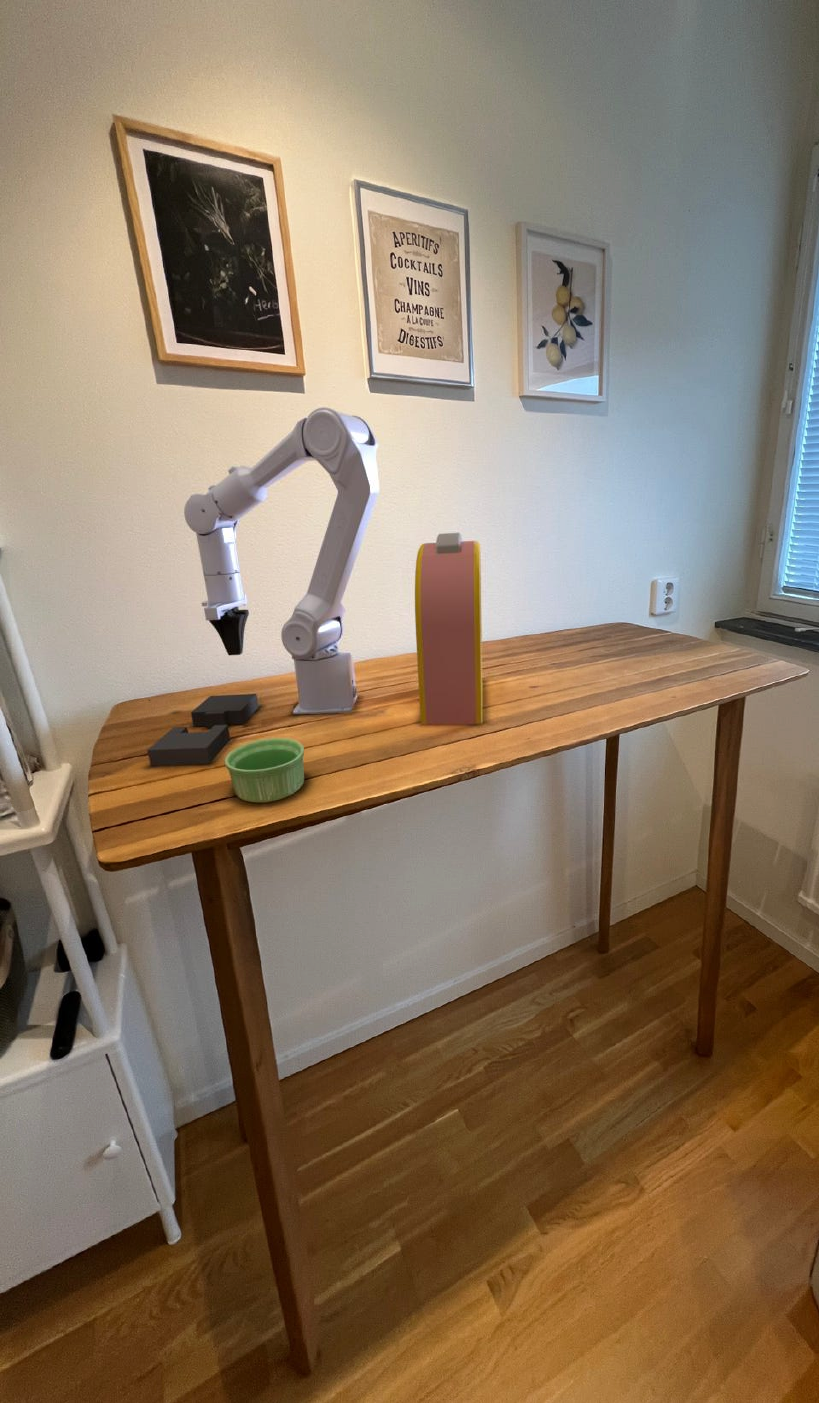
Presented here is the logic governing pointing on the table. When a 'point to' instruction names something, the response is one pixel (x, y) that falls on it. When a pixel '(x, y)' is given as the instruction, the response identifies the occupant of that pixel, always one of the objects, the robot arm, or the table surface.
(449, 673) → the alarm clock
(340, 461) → the robot arm
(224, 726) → the charcoal pad
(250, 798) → the ramekin
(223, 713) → the black pad
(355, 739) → the table surface
